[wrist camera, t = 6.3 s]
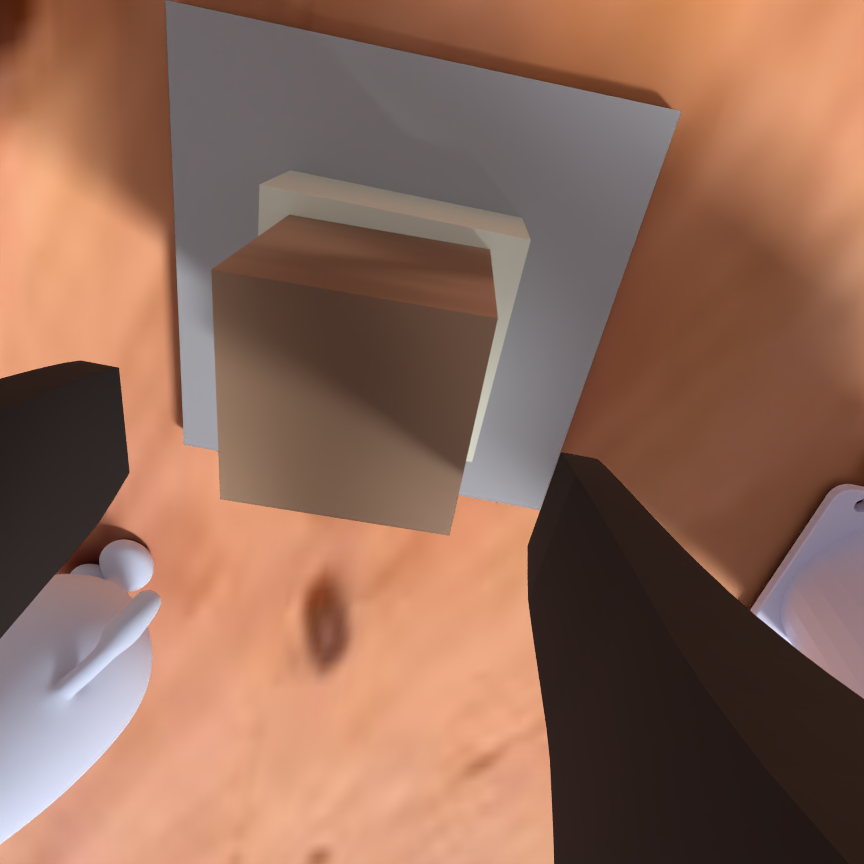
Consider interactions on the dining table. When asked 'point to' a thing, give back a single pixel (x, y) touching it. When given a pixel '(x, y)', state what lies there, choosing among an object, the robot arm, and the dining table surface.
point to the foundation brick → (414, 219)
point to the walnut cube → (350, 371)
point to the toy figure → (72, 678)
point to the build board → (420, 176)
